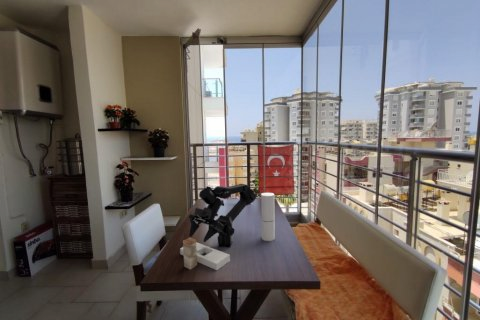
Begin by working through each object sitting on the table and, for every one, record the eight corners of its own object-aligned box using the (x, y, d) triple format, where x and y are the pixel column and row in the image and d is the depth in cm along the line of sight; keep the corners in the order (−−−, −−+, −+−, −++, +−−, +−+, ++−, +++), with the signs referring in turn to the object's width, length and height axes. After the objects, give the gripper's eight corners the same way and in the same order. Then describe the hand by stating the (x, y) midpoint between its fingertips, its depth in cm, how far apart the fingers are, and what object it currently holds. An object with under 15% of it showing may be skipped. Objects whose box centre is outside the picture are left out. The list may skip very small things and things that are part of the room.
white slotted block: (194, 246, 121) (194, 241, 121) (230, 260, 107) (229, 254, 106) (180, 254, 114) (180, 248, 113) (216, 270, 100) (216, 263, 99)
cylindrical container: (273, 235, 132) (273, 192, 130) (275, 240, 125) (275, 195, 122) (261, 235, 132) (260, 192, 129) (262, 241, 125) (262, 196, 122)
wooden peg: (191, 262, 106) (189, 237, 105) (197, 265, 104) (196, 239, 103) (184, 266, 103) (182, 240, 102) (190, 269, 101) (189, 243, 99)
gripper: (190, 197, 114) (172, 226, 106) (218, 203, 102) (201, 236, 95) (202, 209, 121) (187, 237, 113) (230, 215, 110) (215, 247, 102)
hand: (196, 239), depth 106 cm, fingers open, 9 cm apart
